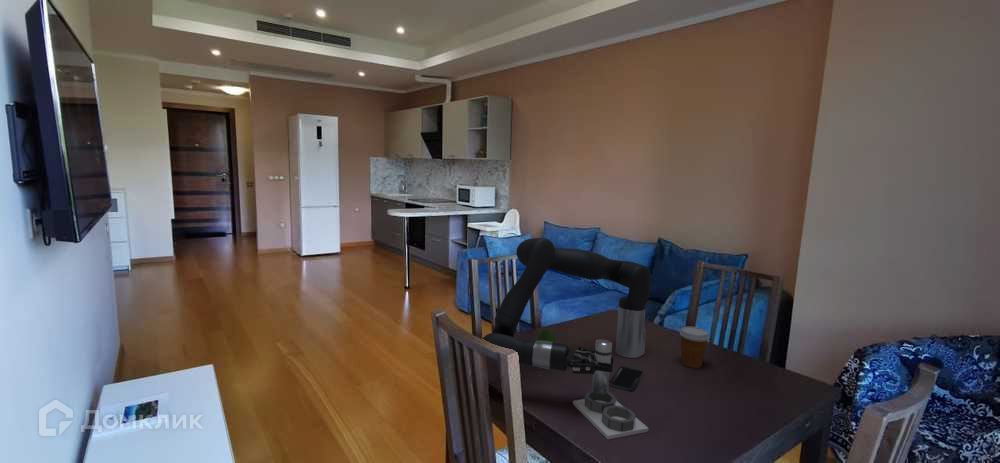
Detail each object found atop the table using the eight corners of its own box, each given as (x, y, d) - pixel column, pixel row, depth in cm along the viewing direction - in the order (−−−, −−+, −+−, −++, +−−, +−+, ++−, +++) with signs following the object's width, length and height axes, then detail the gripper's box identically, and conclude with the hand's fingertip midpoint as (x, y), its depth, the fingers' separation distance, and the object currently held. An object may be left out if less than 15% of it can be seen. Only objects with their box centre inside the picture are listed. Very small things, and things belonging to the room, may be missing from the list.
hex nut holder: (609, 398, 138) (610, 386, 138) (648, 431, 121) (649, 419, 121) (572, 404, 134) (573, 392, 134) (607, 439, 117) (608, 426, 117)
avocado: (557, 359, 164) (558, 326, 162) (557, 369, 156) (559, 334, 155) (534, 358, 165) (535, 324, 163) (533, 367, 157) (534, 333, 155)
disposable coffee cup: (676, 366, 161) (679, 333, 160) (677, 356, 170) (680, 324, 168) (706, 372, 158) (710, 337, 156) (706, 361, 167) (709, 328, 165)
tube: (602, 385, 134) (606, 338, 132) (611, 393, 130) (615, 344, 128) (588, 387, 132) (592, 339, 130) (597, 395, 128) (601, 346, 126)
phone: (608, 383, 146) (620, 365, 159) (607, 387, 146) (620, 369, 159) (633, 390, 142) (644, 371, 155) (633, 393, 142) (644, 374, 155)
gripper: (546, 352, 126) (612, 361, 122) (555, 334, 140) (614, 342, 135) (545, 378, 127) (610, 389, 123) (553, 358, 141) (612, 367, 137)
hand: (612, 364), depth 129 cm, fingers closed on tube, 4 cm apart
